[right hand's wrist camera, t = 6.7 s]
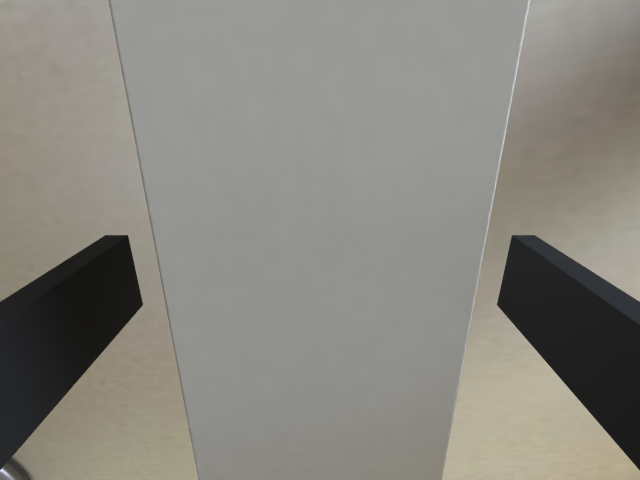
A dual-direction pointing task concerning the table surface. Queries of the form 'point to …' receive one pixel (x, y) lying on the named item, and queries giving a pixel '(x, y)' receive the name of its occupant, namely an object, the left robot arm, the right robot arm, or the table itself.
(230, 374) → the box
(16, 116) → the table surface
